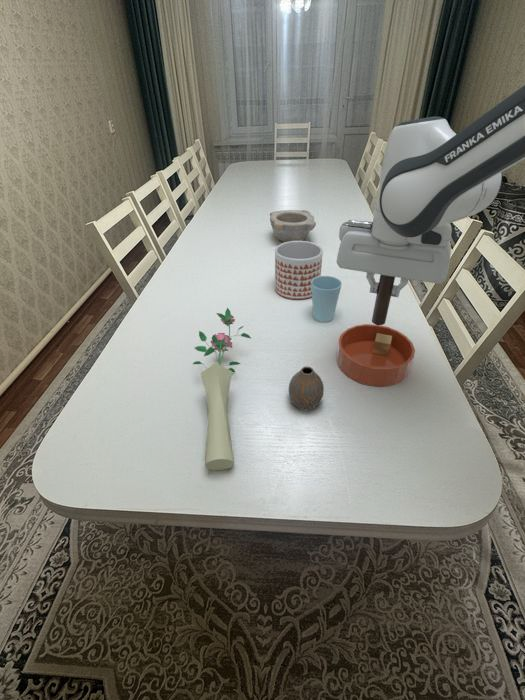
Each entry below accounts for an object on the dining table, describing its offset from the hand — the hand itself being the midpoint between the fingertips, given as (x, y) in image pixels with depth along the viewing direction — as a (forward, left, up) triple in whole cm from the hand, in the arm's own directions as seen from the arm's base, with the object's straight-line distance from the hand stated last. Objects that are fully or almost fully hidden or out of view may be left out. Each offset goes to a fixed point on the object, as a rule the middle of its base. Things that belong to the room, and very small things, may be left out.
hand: (384, 293), depth 72 cm
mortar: (+44, -63, -18) cm, 78 cm away
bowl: (0, 0, -18) cm, 18 cm away
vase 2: (+28, -26, -18) cm, 42 cm away
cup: (+16, -14, -18) cm, 27 cm away
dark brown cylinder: (0, 0, -7) cm, 7 cm away
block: (-2, -4, -17) cm, 17 cm away
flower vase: (+25, +25, -18) cm, 40 cm away
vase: (+10, +18, -18) cm, 27 cm away
